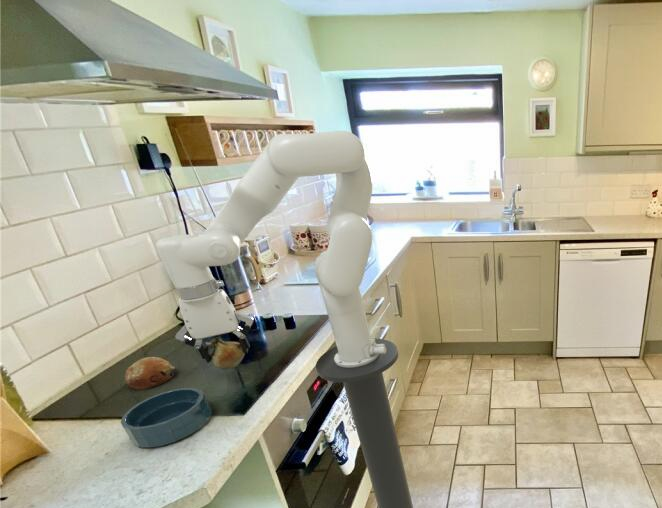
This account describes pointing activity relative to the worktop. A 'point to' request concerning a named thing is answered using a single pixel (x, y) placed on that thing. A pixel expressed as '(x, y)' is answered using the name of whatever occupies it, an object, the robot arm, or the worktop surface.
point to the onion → (225, 353)
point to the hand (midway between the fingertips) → (228, 355)
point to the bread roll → (149, 373)
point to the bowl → (166, 417)
